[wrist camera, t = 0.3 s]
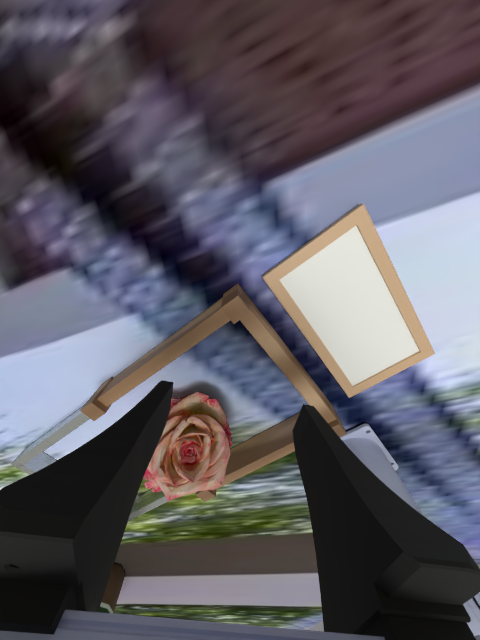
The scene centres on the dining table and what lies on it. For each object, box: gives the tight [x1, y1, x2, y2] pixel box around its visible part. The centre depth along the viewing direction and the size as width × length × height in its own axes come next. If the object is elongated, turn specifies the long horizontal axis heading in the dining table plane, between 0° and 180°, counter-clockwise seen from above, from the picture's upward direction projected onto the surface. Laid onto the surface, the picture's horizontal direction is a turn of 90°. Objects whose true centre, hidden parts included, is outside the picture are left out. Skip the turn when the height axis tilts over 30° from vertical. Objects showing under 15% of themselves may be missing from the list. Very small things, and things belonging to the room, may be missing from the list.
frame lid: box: [262, 204, 435, 398], centre depth 20 cm, size 16×9×1 cm, turn 37°
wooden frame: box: [80, 284, 347, 501], centre depth 23 cm, size 17×18×4 cm
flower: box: [143, 392, 232, 501], centre depth 23 cm, size 9×9×7 cm
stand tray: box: [11, 407, 170, 521], centre depth 28 cm, size 16×14×2 cm
